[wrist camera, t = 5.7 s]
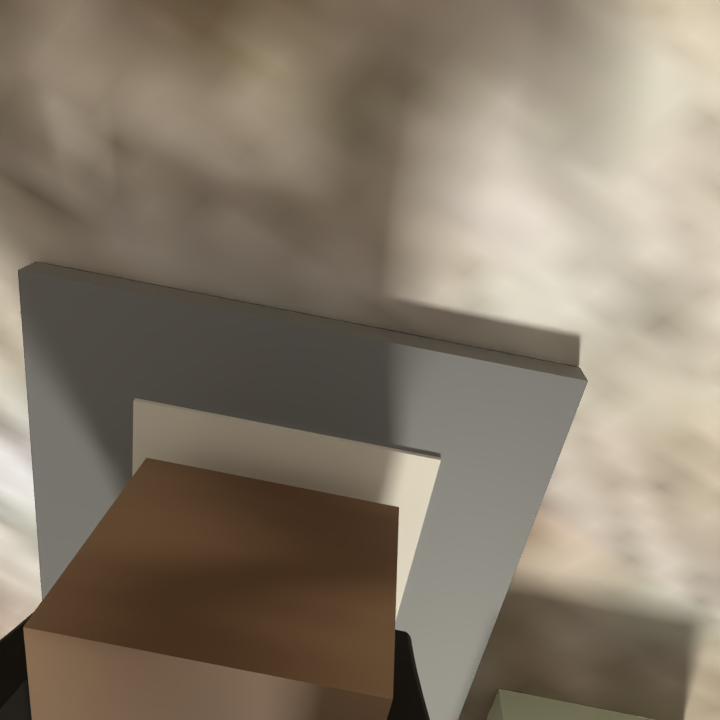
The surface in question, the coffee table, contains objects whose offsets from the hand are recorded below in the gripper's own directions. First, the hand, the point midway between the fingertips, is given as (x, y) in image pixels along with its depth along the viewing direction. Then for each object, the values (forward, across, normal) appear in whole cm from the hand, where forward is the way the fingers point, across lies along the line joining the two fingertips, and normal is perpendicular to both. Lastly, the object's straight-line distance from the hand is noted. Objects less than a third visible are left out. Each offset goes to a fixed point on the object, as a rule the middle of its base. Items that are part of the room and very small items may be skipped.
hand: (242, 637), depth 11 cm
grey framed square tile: (+3, 0, 0) cm, 3 cm away
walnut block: (+2, 0, 0) cm, 2 cm away
